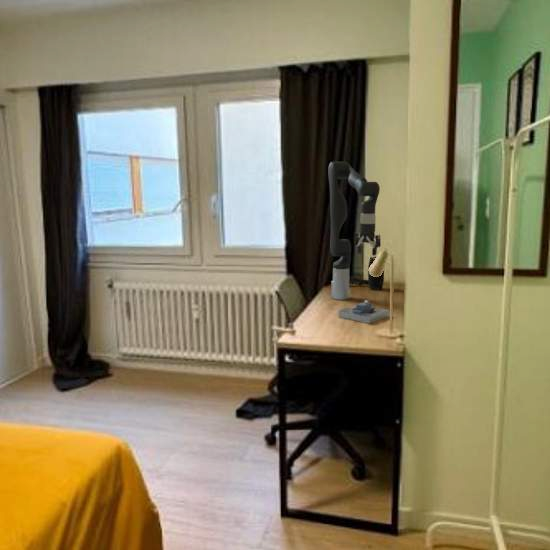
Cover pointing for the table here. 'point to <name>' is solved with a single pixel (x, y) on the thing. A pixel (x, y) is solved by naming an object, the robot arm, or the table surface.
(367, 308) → the servo
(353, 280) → the adjustable wrench
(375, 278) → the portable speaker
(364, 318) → the chassis
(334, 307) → the table surface
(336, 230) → the robot arm
